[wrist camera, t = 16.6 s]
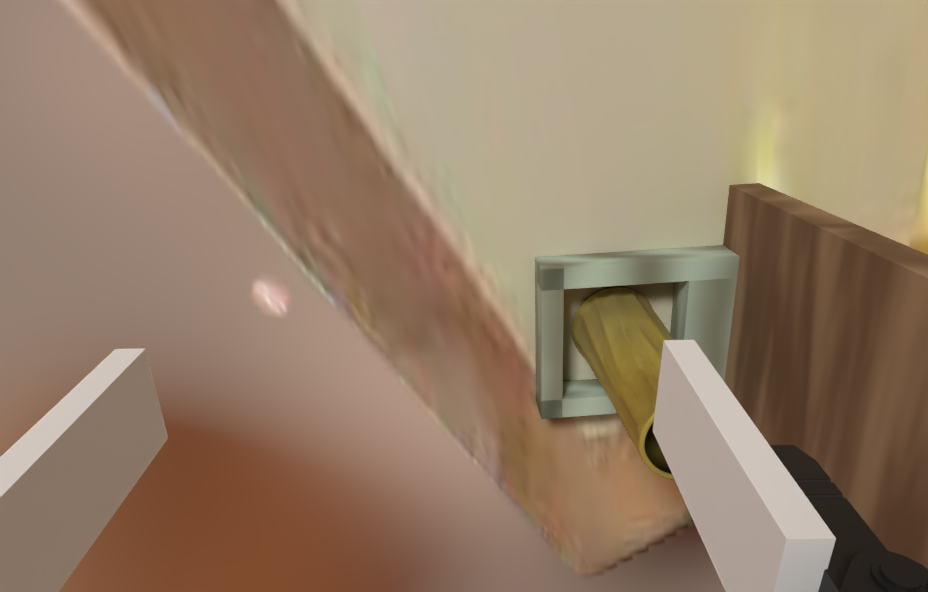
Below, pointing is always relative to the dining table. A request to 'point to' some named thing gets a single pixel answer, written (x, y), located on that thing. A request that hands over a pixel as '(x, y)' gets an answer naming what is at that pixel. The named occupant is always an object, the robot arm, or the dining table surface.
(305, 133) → the dining table surface
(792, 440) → the board
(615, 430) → the dining table surface
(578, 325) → the vase
